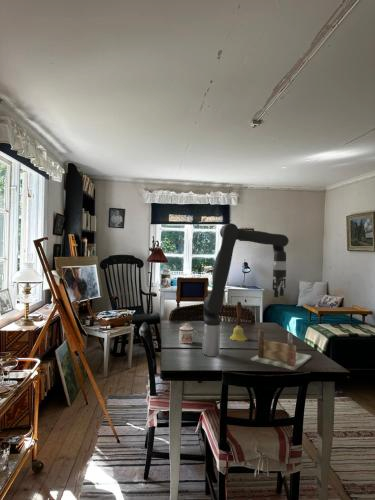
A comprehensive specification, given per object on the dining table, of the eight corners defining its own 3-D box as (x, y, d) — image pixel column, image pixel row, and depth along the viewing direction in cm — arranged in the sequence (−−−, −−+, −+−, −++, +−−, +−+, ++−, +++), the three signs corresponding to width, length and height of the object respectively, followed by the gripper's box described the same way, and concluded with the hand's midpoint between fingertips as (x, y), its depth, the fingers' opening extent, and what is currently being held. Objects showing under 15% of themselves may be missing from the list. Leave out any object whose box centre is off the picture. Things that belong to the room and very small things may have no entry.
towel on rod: (250, 360, 189) (251, 330, 189) (271, 349, 211) (271, 322, 211) (294, 370, 175) (295, 338, 175) (311, 357, 197) (312, 329, 197)
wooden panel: (263, 357, 190) (264, 329, 190) (264, 356, 192) (265, 329, 192) (294, 363, 180) (295, 334, 180) (295, 362, 182) (296, 333, 182)
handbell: (248, 337, 238) (249, 301, 238) (245, 342, 227) (246, 303, 227) (231, 335, 242) (232, 300, 242) (227, 340, 231) (228, 302, 231)
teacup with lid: (180, 344, 216) (181, 326, 216) (177, 340, 225) (177, 322, 225) (199, 344, 219) (199, 325, 219) (195, 340, 228) (195, 322, 228)
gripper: (278, 268, 212) (277, 294, 212) (268, 268, 200) (268, 297, 200) (290, 269, 207) (289, 296, 207) (281, 269, 196) (280, 298, 196)
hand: (278, 296), depth 204 cm, fingers open, 8 cm apart
